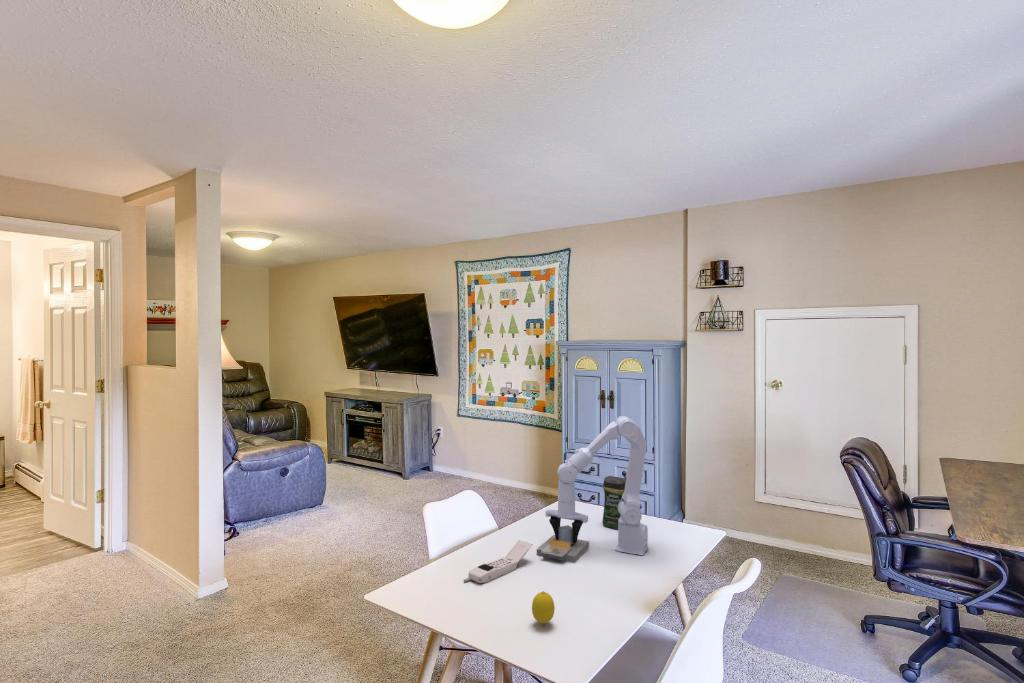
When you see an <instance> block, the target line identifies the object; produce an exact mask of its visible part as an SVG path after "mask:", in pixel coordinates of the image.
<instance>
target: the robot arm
mask: <svg viewBox="0 0 1024 683" xmlns="http://www.w3.org/2000/svg"><path fill="white" fill-rule="evenodd" d="M620 436H621V437H622V438H624V439H625V440H626V441H627V443H629V445H630V450H629V459H628V464H627V470H626V471H627V472H626V484H625V491H624V493H623V494H622V499H621V501H620V502H619V504H618V512H619V513H620V515H621V516H620V518H619V520H618V529H617V530H618V532H617V535H618V537H617V538H618V540H617V542H618V543H617V545H616V546H615V547H614V551H615V552H621V553H625V554H626V553H627V554H632V555H636V554H638V556H644V555H645V554H646V552H647V550H648V549H649V546H648V545H649V544H648V543H649V542H648V541H649V534H648V533H649V532H648V530H649V529H648V525H647V524H643V523H641V521H642V512H641V500H640V499H641V498H640V494H641V487H642V480H643V479H642V478H643V473H644V467H645V460H646V453H647V446H648V445H647V441H646V438H645V436H644V433H643V432H642V429H641V426H639V425H638V424H637V422H636V421H634V420H633V419H631V417H629V416H627V415H620V416H617V417H616V418H615V420H614V421H611V422H610V423H609V424H608V425H607V426H606V427H605V428H604V429H603V430H602V431H601V432H600V433H599V434H598V435H597V436H596V437H595V438H594V439H593V440H592V441H591V442H590V444H588V445H587V447H580V448H576V449H575V450H574V452H575V453H573V454H572V456H570V457H569V458H568V459H565V460H564V463H562V464H560V465H559V466H558V468H557V471H556V473H557V476H558V482H557V483H558V486H557V509H546V510H545V517H550V518H549V519H548V520H549V524H550V525H551V528H552V530H553V533H554V535H555V538H556V540H558V527H561V522H562V519H564V520H570V521H573V522H572V523H571V527H572V528H573V543H576V542H577V539H579V538H578V537H579V534H580V530H581V528H582V526H583V524H587V523H588V522H589V515H588V514H587V515H586V514H582V513H578V512H576V486H575V481H576V479H577V475H578V474H580V473H581V472H582V471H584V469H585V468H587V467H588V466H589V465H590V464H591V463H592V462H593V461H594V455H596V453H598V452H599V451H600V450H601V449H603V447H604V446H606V444H608V443H609V442H611V441H612V440H620V439H621V437H620ZM647 548H648V549H647ZM645 551H646V552H645Z"/></svg>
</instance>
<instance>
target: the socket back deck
mask: <svg viewBox="0 0 1024 683" xmlns="http://www.w3.org/2000/svg"><path fill="white" fill-rule="evenodd" d="M548 544H550V543H547V542H546V541H544V542H543V543H542V544H541V545H540V546H539V547H537V548H536V556H537V555H538V557H542V556H543V557H542V558H547V557H548V558H549V559H552V558H553V560H558V561H562V562H567V561H568V563H572V564H574V563H577V561H578V560H579V559H580V558H581V557H582V555H583V554H582V549H580V548H574V547H572V549H571V550H570V551H569V552H568V553H567V554H566V555H565V556H564V557H560V556H555V555H550V554H545V553H541V551H542V550H543V549H544V548H545V547H546V546H547V545H548ZM580 556H581V557H580ZM579 557H580V558H579Z"/></svg>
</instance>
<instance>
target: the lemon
mask: <svg viewBox="0 0 1024 683" xmlns="http://www.w3.org/2000/svg"><path fill="white" fill-rule="evenodd" d="M531 613H532V617H533V618H534V619H535V620H536V621H537V622H538V623H540V624H541V625H542V626H543V625H545V624H547V623H549V622H550V621H551V620H552V619H553V617H554V615H555V602H554V599H553V597H552V595H551V594H550V593H548V592H545V591H543V590H542V591H540V592H538V593H537V594H536V595H535V596H534V597H533V600H532V603H531Z"/></svg>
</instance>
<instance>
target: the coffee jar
mask: <svg viewBox="0 0 1024 683" xmlns="http://www.w3.org/2000/svg"><path fill="white" fill-rule="evenodd" d="M625 484H626V478H625V477H618V476H613V475H608V476H605V477H604V478H603V485H602V489H603V492H604V506H603V514H602V525H603V526H604V527H607V528H611V529H614V528H615V530H618V520H619V518H620V516H621V515H620V513H619V512H618V504H619V502H620V501H621V499H622V494H623V493H624V491H625Z"/></svg>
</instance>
